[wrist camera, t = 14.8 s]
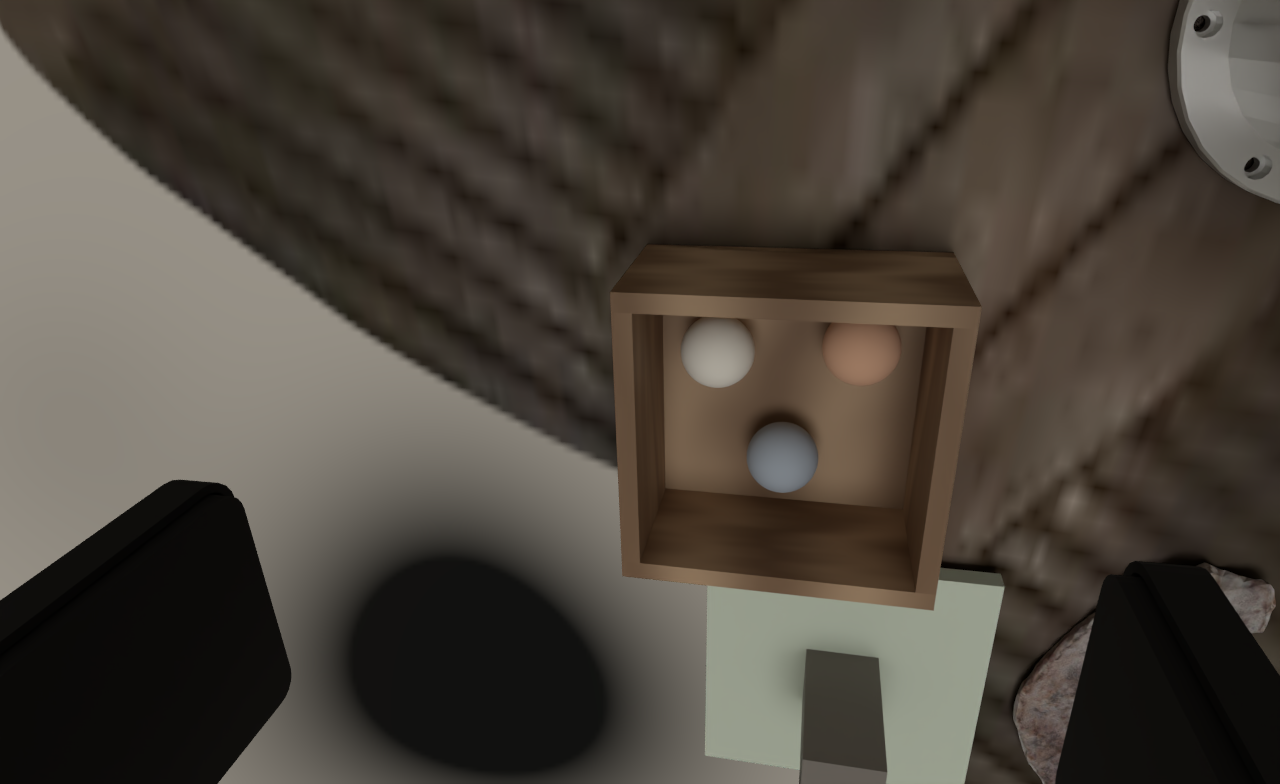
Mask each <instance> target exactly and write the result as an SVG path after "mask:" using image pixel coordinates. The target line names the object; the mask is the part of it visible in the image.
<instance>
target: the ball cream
mask: <svg viewBox="0 0 1280 784" xmlns="http://www.w3.org/2000/svg"><path fill="white" fill-rule="evenodd" d="M754 355H755V346H754V341H753V338H752V336H751V334H750V332H749V330H748V329H747V328H746V326H745V325H744V324H742V323H741V322H740V321H739V320H737V319H735V318H721V317H702V318H700V319H699V320H697V321H696V322H694V323H693V324H692V325H691V326H690V327H689V329H688V330H687V331H686V333H685V335H684V337H683V340H682V344H681V359H682V362H683V365H684V367H685V369H686V371H687V372H688V374H689V375H690V376H691V377H692V378H693V379H694V380H695V381H697V382H698V383H700V384H702V385H705V386H708V387H713V388H723V387H728V386H731V385H733V384H735V383H737V382H738V381H740V380H741V379H742V378H743V377H744V376H745V375H746V374H747V373H748V371H749V370H750V368H751V366H752V363H753V360H754Z"/></svg>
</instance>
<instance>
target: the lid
mask: <svg viewBox="0 0 1280 784" xmlns="http://www.w3.org/2000/svg"><path fill="white" fill-rule="evenodd" d="M1003 592H1004V584H1003V580H1002V577H1001V574H997V573H987V572H977V571H967V570H958V569H948V568H940V574H939V580H938V586H937V592H936V599H935V605H934V611H932V610H923V609H914V608H905V607H896V606H887V605H878V604H869V603H860V602H851V601H842V600H833V599H824V598H815V597H806V596H797V595H788V594H779V593H770V592H761V591H752V590H743V589H734V588H725V587H716V586H707V642H706V643H707V644H706V646H707V647H706V717H705V719H706V720H705V721H706V722H705V755H706V756H712V757H718V758H725V759H731V760H739V761H744V762H751V763H757V764H764V765H770V766H777V767H783V768H790V769H796V770H800V776H799V784H886V783H887V784H964V782H965V777H966V772H967V768H968V763H969V758H970V753H971V748H972V743H973V738H974V733H975V729H976V724H977V719H978V714H979V709H980V704H981V699H982V695H983V690H984V685H985V680H986V675H987V670H988V665H989V660H990V656H991V651H992V646H993V641H994V636H995V631H996V626H997V621H998V617H999V612H1000V607H1001V602H1002V597H1003Z"/></svg>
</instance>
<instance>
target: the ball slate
mask: <svg viewBox="0 0 1280 784" xmlns="http://www.w3.org/2000/svg"><path fill="white" fill-rule="evenodd" d="M747 465H748V468H749V471H750V473H751V475H752V476H753V478H754V479H755V480H756V481H757V482H758V483H759V484H760V485H761V486H763V487H764V488H766V489H768V490H770V491H774V492H779V493H787V492H792V491H795V490H798V489H800V488H802V487H803V486H805V485H806V484H807V483H808V482H809V481H810V480H811V479H812V477H813V476H814V474H815V471H816V469H817V465H818V450H817V447H816V444H815V442H814V440H813V438H812V437H811V436H810V434H809V433H808V432H807V431H806V430H804V429H803V428H802V427H800V426H798V425H796V424H793V423H789V422H775V423H771V424H768V425H766V426H764V427H763V428H761V429H760V430H759V431H757V432H756V434H755V435H754V436H753V437H752V439H751V441H750V443H749V445H748V449H747Z"/></svg>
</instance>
